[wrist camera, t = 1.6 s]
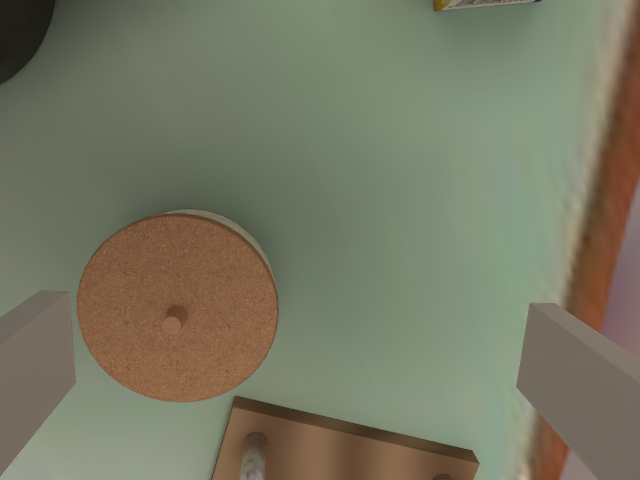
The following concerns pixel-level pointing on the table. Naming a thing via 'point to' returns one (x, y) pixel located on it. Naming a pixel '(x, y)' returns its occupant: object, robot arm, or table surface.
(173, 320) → the lidded jar
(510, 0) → the beverage box
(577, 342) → the robot arm
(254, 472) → the corner pegs
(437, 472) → the peg board
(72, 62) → the table surface
